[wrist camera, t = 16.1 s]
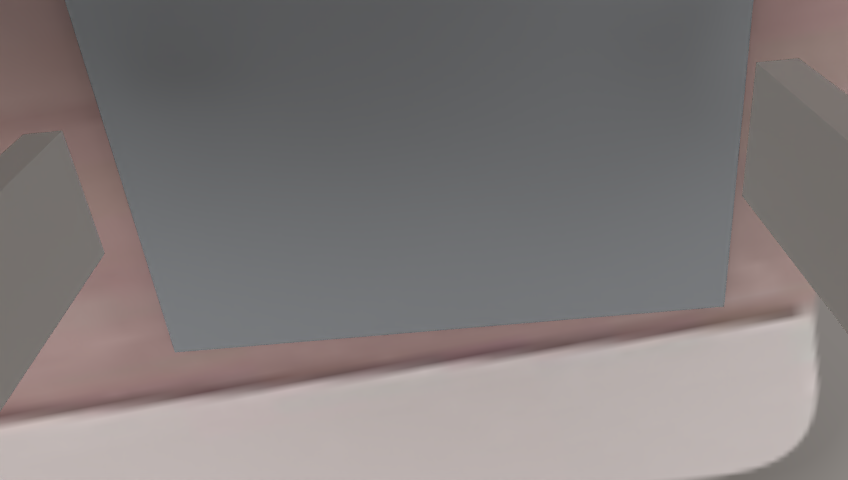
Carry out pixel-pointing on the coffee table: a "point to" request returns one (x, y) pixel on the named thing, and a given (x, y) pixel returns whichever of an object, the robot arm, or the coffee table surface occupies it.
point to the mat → (420, 159)
